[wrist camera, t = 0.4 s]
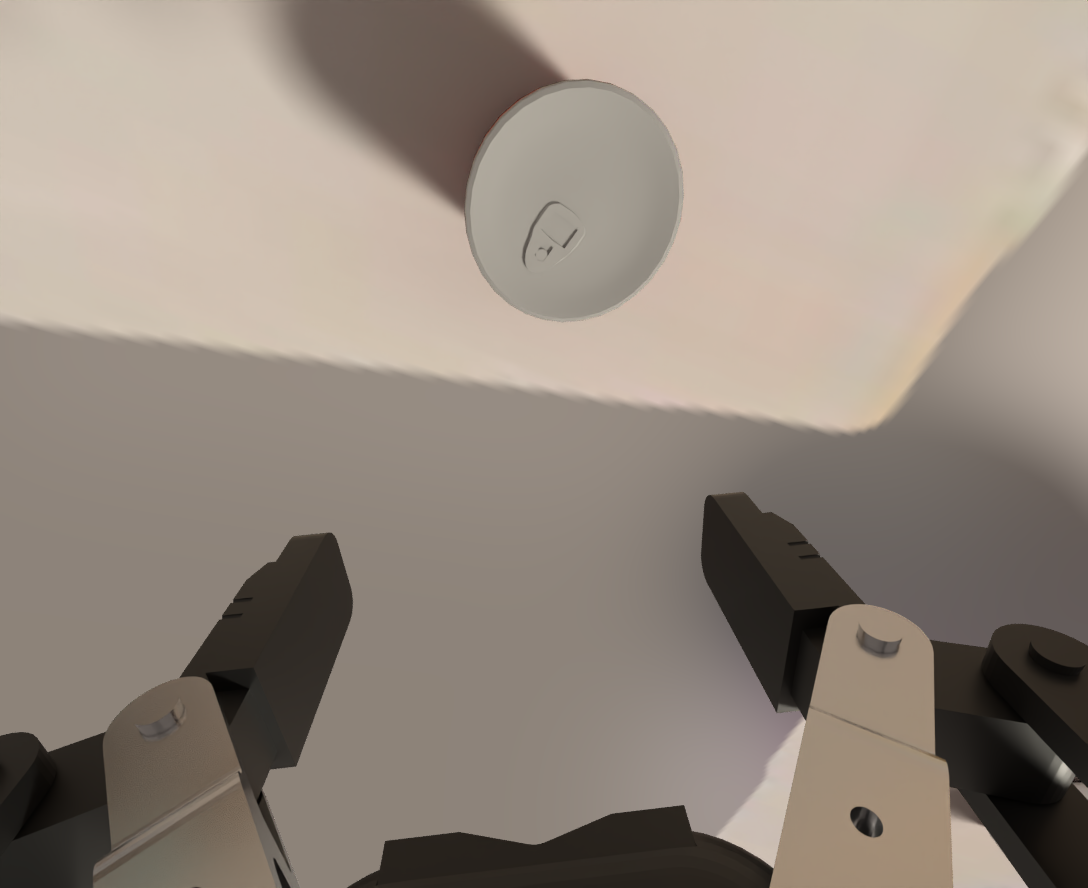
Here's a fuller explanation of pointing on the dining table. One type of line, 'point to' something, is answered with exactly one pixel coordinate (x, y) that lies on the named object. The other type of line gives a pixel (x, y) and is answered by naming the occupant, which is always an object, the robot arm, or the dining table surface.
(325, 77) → the dining table surface
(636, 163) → the canned food
